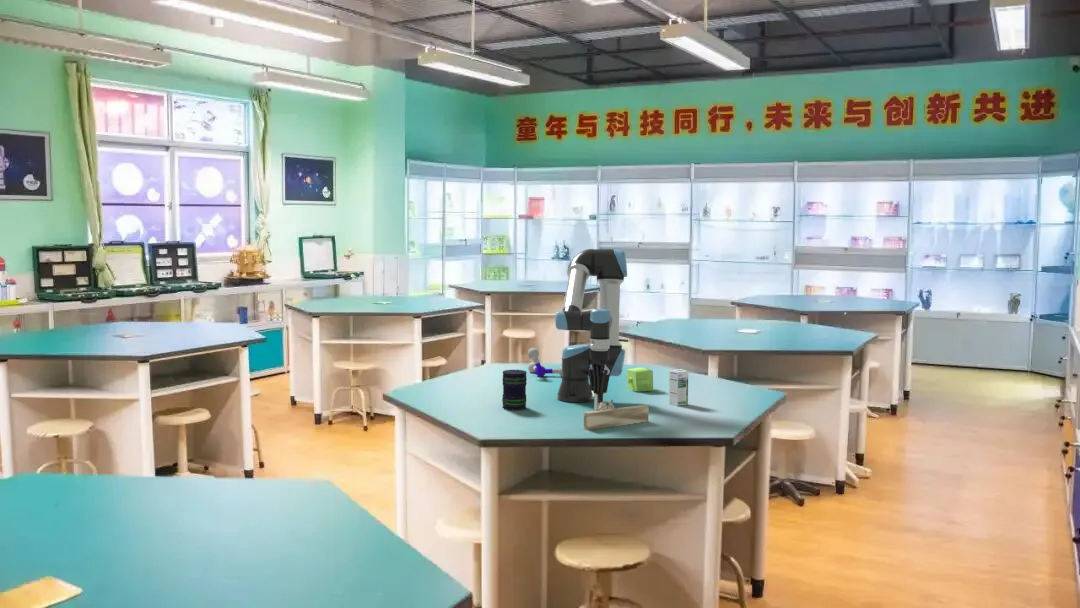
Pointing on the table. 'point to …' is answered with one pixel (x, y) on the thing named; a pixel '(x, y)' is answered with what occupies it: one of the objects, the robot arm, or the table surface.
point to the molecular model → (536, 367)
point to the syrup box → (678, 387)
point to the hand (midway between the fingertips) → (598, 410)
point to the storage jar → (514, 389)
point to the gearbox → (640, 379)
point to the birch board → (615, 417)
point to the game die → (605, 405)
